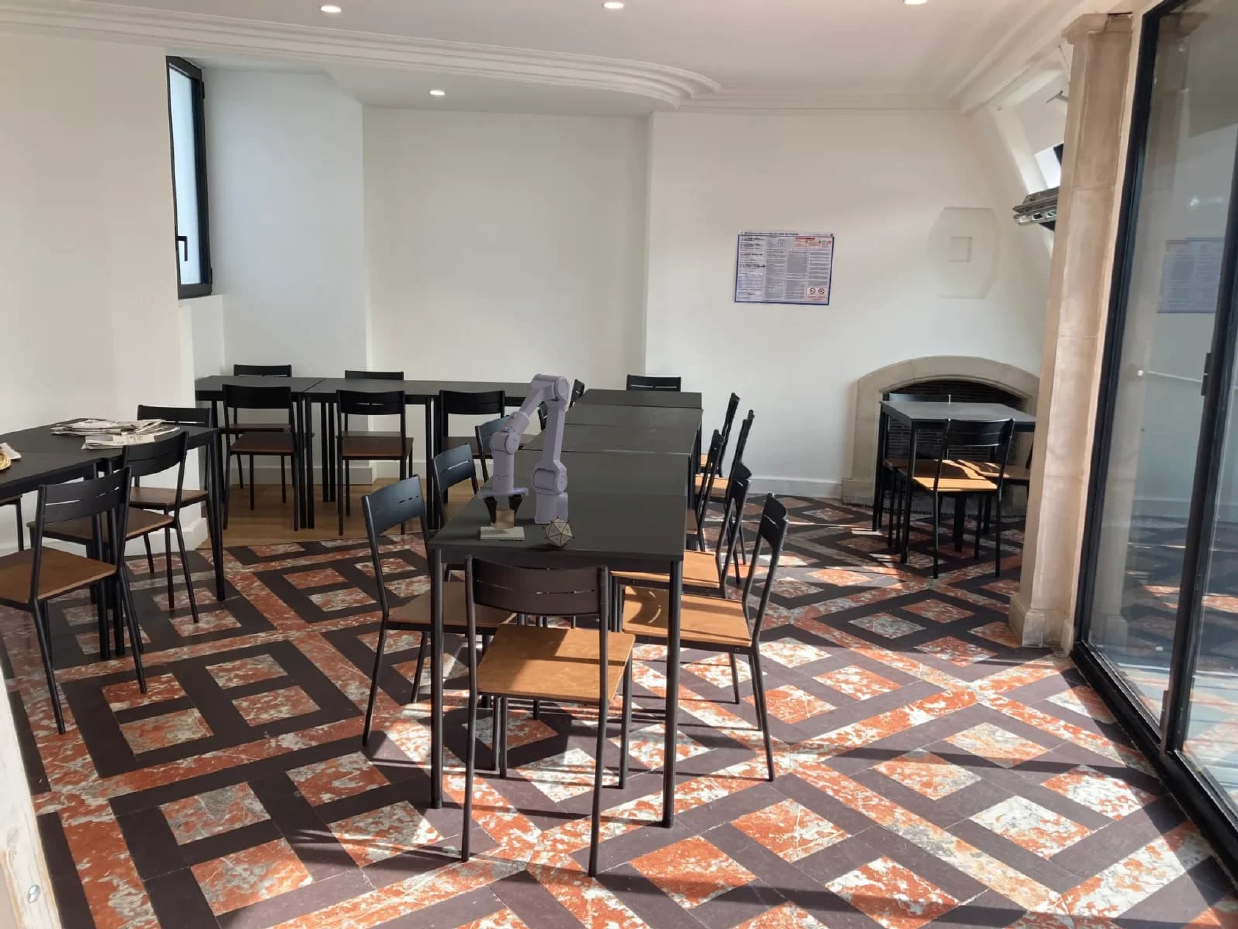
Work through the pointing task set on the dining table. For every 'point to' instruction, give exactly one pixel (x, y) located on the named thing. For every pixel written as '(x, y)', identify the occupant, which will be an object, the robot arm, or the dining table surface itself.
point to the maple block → (504, 518)
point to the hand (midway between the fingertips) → (502, 521)
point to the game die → (558, 532)
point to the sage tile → (502, 533)
